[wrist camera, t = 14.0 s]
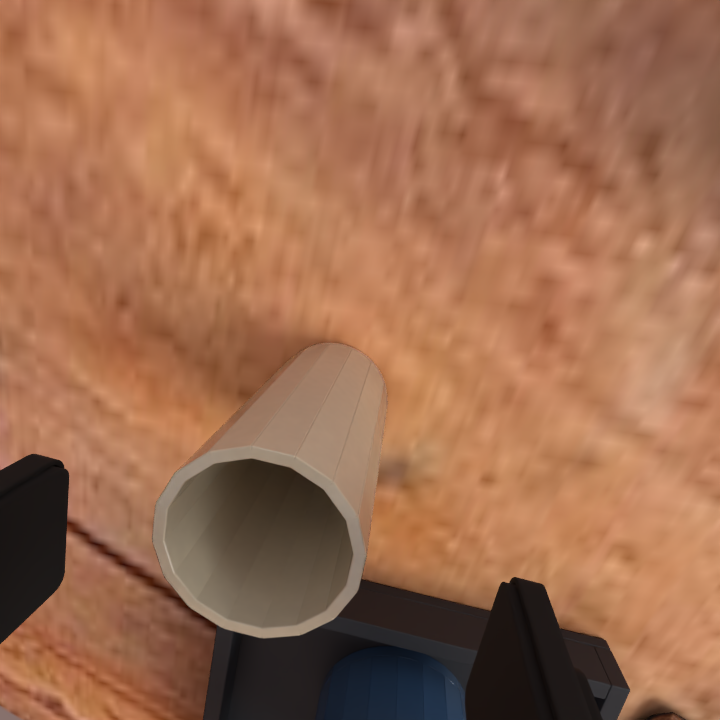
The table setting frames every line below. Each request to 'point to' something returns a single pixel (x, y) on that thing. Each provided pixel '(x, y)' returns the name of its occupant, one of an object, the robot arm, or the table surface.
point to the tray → (363, 630)
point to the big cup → (390, 688)
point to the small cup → (280, 499)
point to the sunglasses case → (665, 717)
